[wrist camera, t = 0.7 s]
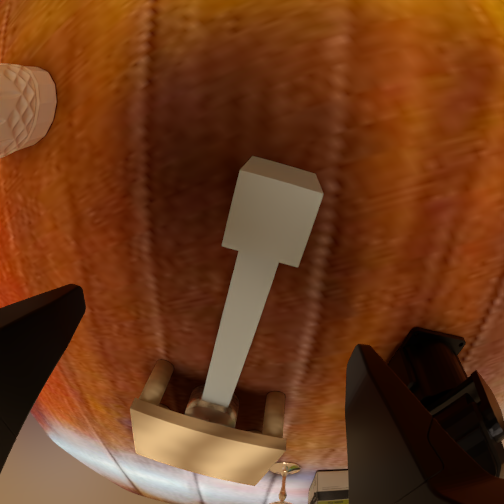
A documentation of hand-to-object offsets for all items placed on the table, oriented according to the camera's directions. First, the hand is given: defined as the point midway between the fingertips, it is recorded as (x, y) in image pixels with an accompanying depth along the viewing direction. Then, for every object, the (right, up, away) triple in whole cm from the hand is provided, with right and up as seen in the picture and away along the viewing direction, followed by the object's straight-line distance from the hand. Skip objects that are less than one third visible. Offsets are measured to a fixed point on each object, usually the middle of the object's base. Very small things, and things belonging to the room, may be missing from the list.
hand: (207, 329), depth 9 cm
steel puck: (-2, -13, +20) cm, 24 cm away
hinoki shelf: (-3, -14, +20) cm, 24 cm away
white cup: (-17, +14, +9) cm, 24 cm away
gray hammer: (+1, -1, +14) cm, 14 cm away
